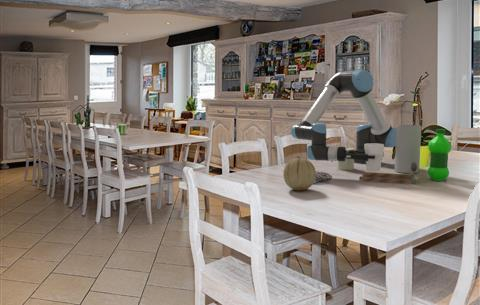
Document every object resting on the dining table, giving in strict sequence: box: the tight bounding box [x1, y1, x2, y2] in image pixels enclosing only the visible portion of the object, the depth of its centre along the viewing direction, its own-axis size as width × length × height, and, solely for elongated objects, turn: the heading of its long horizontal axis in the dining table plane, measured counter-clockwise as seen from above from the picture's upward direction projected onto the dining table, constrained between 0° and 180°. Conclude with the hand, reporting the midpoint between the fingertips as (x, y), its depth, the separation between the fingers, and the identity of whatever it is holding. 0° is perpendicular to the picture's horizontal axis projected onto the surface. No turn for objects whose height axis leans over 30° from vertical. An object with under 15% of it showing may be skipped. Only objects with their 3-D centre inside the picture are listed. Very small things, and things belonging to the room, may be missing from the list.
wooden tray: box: [358, 162, 417, 185], centre depth 224 cm, size 26×14×9 cm, turn 68°
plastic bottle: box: [427, 128, 452, 182], centre depth 222 cm, size 10×10×25 cm
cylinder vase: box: [394, 124, 422, 175], centre depth 244 cm, size 12×12×25 cm
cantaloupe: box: [283, 156, 317, 192], centre depth 203 cm, size 15×15×15 cm
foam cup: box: [364, 143, 385, 172], centre depth 225 cm, size 10×9×13 cm
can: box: [336, 147, 355, 171], centre depth 255 cm, size 9×9×12 cm
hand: (383, 155), depth 224 cm, fingers closed on foam cup, 9 cm apart
